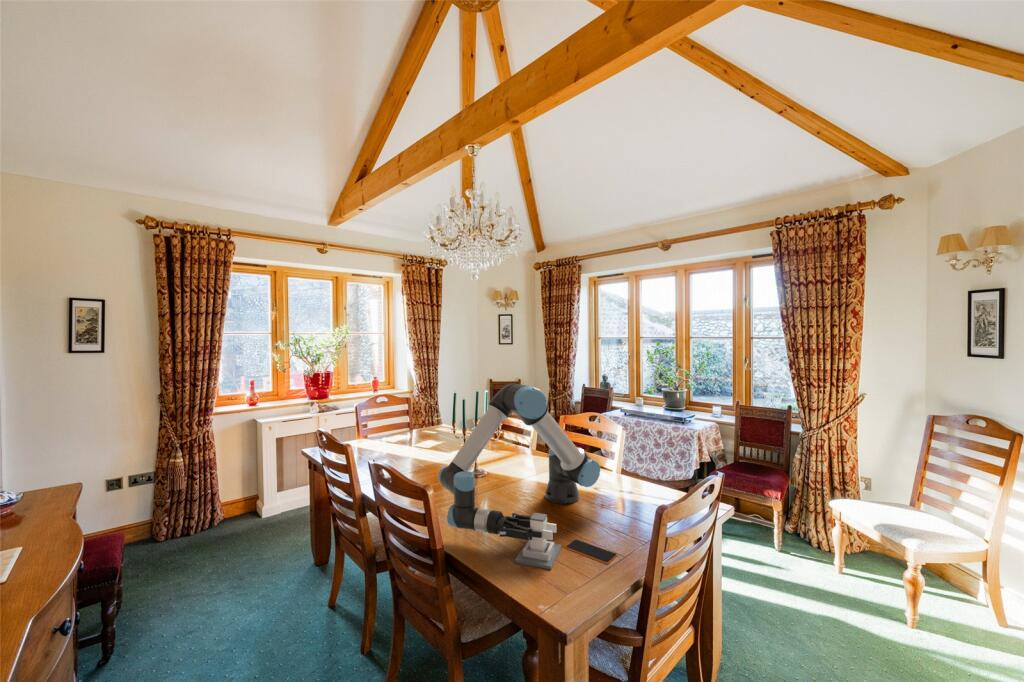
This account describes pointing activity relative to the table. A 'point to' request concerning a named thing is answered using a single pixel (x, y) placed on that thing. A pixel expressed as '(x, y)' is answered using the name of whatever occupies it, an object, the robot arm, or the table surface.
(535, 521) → the block
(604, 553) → the smartphone
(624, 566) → the table surface
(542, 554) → the dock
